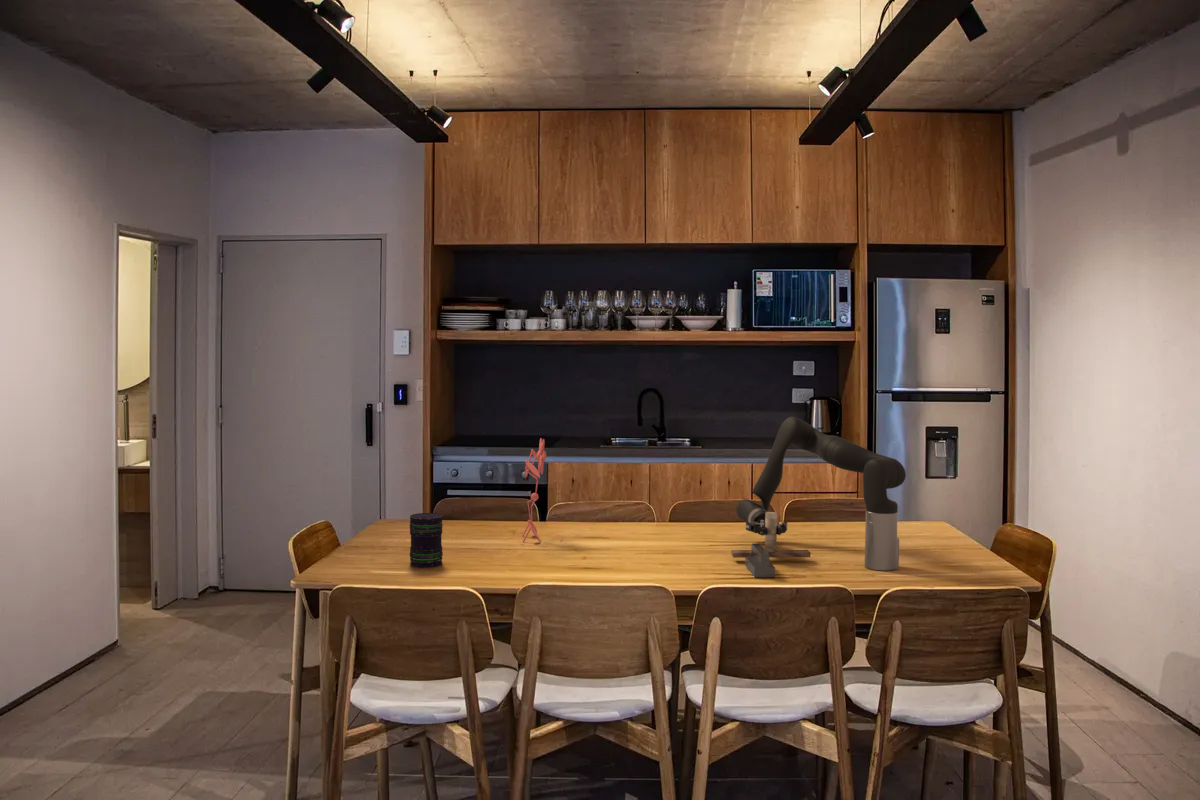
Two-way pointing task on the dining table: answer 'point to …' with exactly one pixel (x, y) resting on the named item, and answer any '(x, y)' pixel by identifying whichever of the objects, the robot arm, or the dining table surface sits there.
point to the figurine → (540, 458)
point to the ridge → (759, 562)
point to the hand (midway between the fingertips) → (773, 531)
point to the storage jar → (426, 540)
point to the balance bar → (772, 542)
